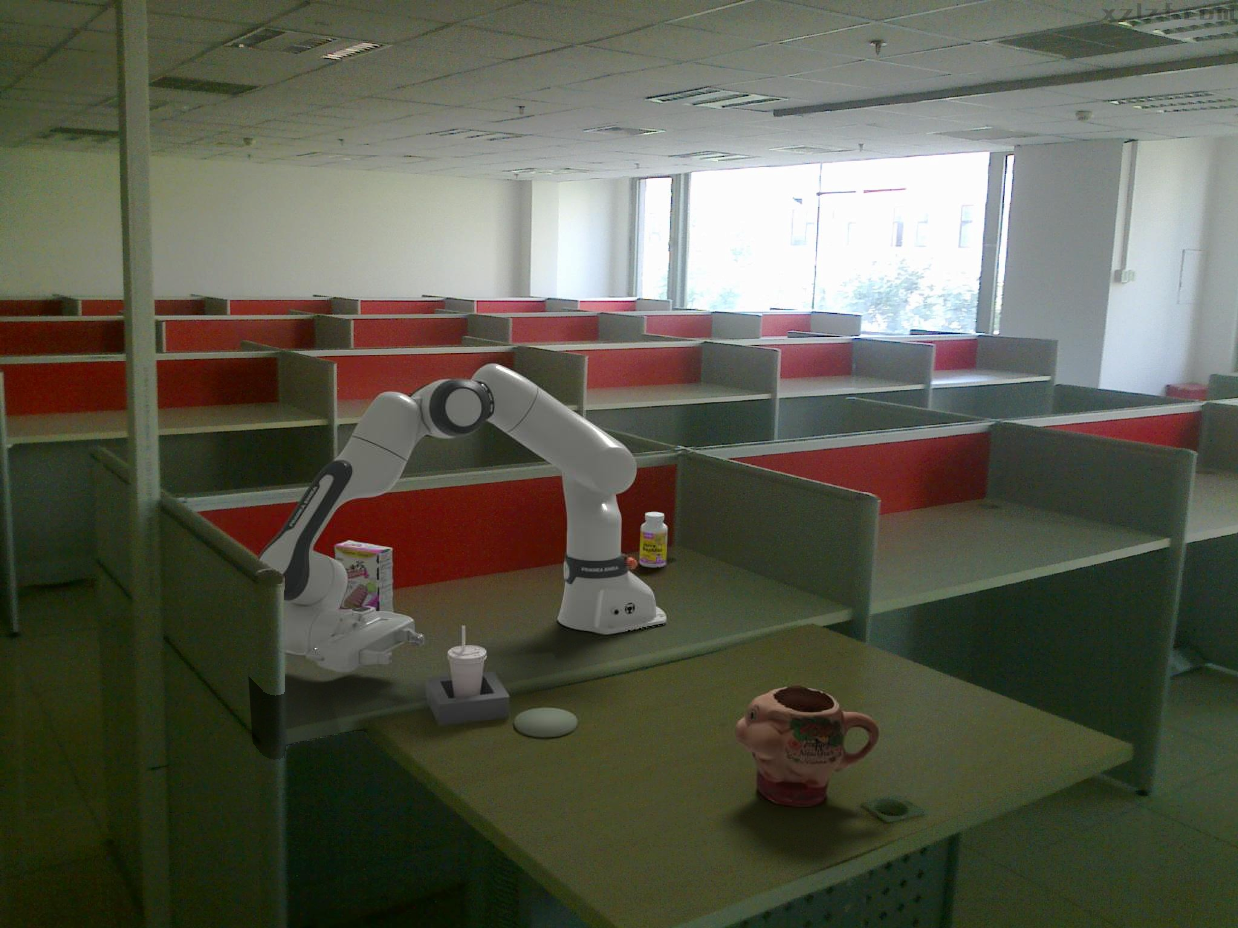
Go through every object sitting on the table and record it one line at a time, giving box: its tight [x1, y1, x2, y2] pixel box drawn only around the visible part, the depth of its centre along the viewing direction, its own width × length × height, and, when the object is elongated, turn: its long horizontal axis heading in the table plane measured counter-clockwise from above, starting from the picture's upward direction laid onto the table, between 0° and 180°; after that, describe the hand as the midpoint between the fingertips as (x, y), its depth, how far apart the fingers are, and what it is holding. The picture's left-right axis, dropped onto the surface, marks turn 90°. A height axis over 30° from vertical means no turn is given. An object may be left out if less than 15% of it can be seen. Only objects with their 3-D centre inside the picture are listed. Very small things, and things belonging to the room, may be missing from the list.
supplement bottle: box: [638, 511, 668, 569], centre depth 262 cm, size 7×7×13 cm
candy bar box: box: [333, 539, 394, 613], centre depth 213 cm, size 11×5×16 cm, turn 65°
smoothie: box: [447, 625, 488, 698], centre depth 174 cm, size 6×6×14 cm
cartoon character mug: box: [734, 685, 880, 808], centre depth 149 cm, size 20×12×14 cm, turn 94°
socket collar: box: [425, 670, 511, 727], centre depth 175 cm, size 12×12×4 cm
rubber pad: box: [513, 707, 578, 739], centre depth 170 cm, size 10×10×1 cm
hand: (406, 649), depth 179 cm, fingers open, 8 cm apart
